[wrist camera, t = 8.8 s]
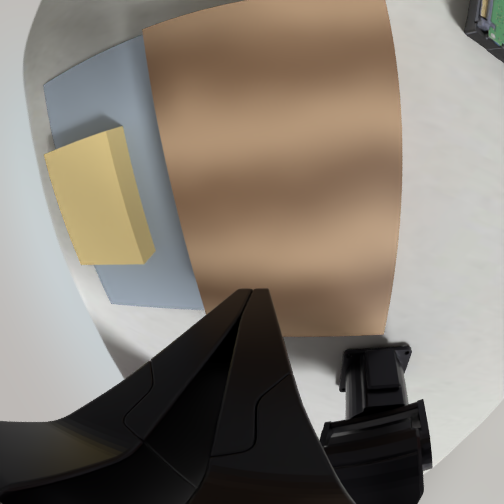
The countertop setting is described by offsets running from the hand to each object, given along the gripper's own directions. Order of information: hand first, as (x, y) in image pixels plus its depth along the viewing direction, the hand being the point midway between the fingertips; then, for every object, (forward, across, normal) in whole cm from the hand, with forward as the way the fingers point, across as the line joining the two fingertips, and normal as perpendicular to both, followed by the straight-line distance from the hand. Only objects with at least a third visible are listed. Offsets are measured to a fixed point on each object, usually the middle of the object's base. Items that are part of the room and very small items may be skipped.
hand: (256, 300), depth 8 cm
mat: (+12, +12, -1) cm, 17 cm away
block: (+10, +14, 0) cm, 17 cm away
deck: (+12, 0, 0) cm, 12 cm away
